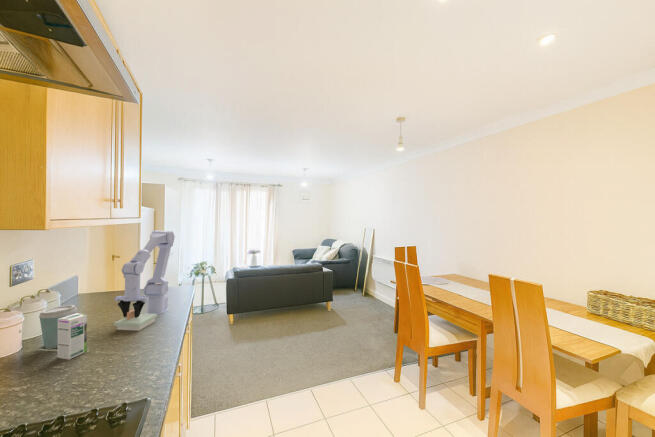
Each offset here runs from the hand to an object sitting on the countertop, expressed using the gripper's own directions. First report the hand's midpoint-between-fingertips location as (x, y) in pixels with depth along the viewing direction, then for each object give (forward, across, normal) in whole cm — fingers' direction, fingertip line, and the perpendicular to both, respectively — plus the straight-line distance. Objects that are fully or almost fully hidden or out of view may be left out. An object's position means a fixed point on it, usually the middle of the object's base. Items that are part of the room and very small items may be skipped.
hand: (131, 316), depth 121 cm
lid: (+2, +2, 0) cm, 3 cm away
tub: (+5, +2, 0) cm, 5 cm away
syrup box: (+5, -2, -25) cm, 26 cm away
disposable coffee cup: (+5, -14, -19) cm, 24 cm away
